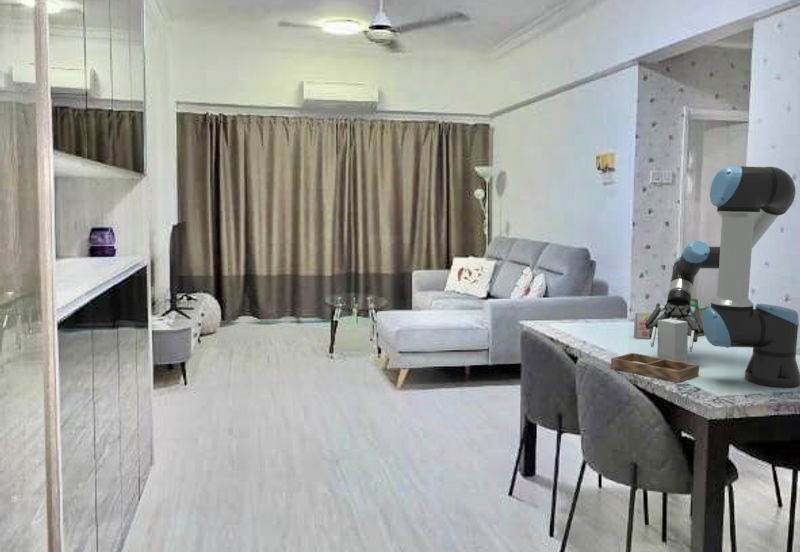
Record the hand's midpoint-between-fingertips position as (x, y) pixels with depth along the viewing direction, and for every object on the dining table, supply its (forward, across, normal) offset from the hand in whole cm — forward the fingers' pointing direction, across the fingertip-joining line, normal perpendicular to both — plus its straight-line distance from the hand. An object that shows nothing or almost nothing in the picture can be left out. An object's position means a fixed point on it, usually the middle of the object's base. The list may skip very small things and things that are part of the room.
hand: (671, 346), depth 234 cm
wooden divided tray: (+13, +3, +4) cm, 14 cm away
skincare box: (+3, 0, -7) cm, 7 cm away
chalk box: (-40, 0, -50) cm, 64 cm away
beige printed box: (-26, +16, -36) cm, 47 cm away
